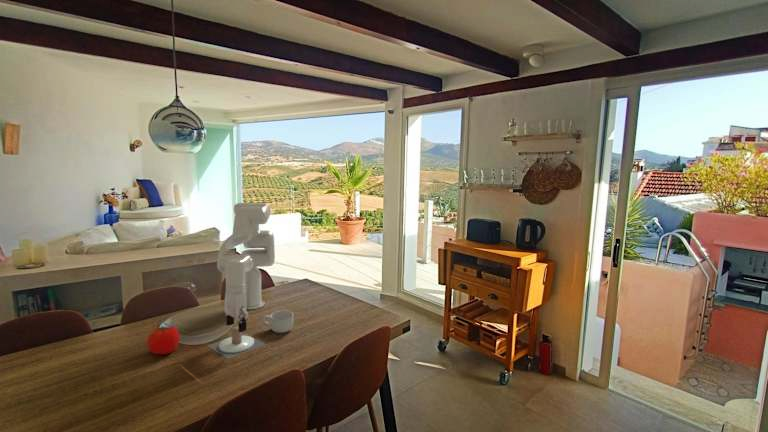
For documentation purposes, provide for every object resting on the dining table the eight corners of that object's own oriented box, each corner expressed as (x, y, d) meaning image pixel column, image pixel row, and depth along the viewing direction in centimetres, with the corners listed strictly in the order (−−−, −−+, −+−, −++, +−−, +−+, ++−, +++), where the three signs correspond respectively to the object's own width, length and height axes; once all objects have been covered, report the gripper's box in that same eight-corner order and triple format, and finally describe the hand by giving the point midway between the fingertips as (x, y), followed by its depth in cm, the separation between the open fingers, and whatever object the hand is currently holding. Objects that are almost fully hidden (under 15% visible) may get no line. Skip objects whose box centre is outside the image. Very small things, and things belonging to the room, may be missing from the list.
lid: (212, 345, 155) (212, 328, 154) (243, 334, 166) (242, 318, 165) (229, 356, 146) (229, 338, 145) (260, 344, 157) (260, 327, 156)
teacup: (296, 326, 177) (296, 310, 176) (288, 336, 166) (288, 319, 165) (269, 324, 178) (269, 309, 177) (259, 334, 168) (259, 317, 167)
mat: (207, 346, 155) (207, 345, 155) (244, 333, 168) (244, 332, 168) (228, 360, 144) (227, 359, 144) (265, 345, 157) (265, 344, 157)
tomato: (187, 349, 152) (186, 325, 151) (160, 361, 142) (159, 336, 141) (168, 342, 157) (167, 319, 156) (140, 354, 147) (139, 329, 146)
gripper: (216, 286, 155) (217, 324, 157) (238, 295, 144) (238, 336, 146) (233, 282, 161) (234, 320, 163) (255, 290, 150) (255, 330, 152)
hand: (236, 327), depth 154 cm, fingers open, 9 cm apart
